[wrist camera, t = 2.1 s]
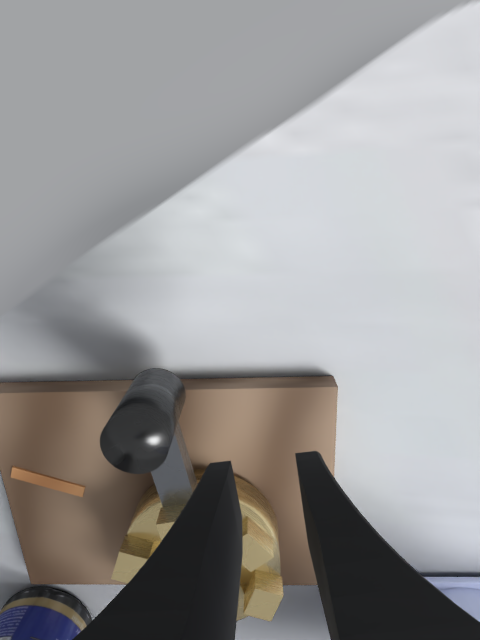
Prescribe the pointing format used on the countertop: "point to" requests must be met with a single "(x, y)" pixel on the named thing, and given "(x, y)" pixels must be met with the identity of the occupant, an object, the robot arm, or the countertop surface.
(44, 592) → the pill bottle
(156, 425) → the gold and black piece
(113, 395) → the wooden board
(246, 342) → the countertop surface
